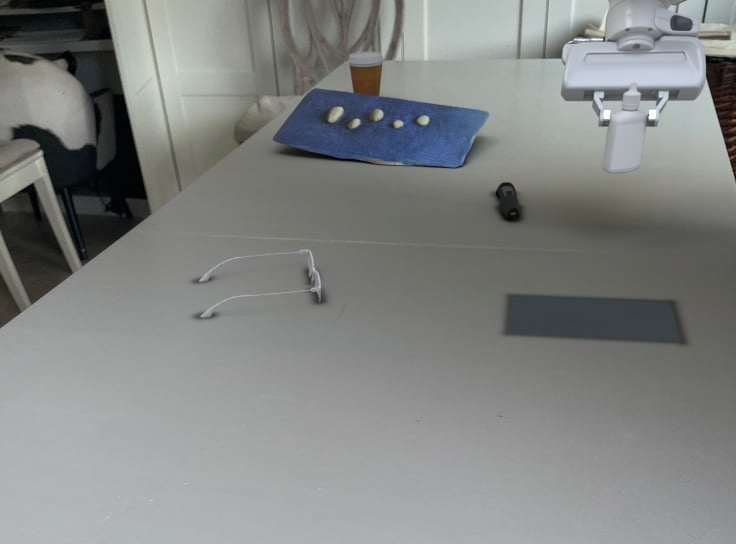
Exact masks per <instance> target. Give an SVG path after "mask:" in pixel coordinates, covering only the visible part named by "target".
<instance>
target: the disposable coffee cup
mask: <svg viewBox="0 0 736 544" xmlns="http://www.w3.org/2000/svg"><path fill="white" fill-rule="evenodd" d="M384 61H385V59H384V56H383V53H382V52H379V51H357V52H353V53H352V52H351V53H350V54H349V55H348V60H347V63H348V65H349V71H350V77H351V78H350V79H351V85H352V91H353V92H352V93H357V94H364V95H373V96H380V94H381V93H380V92H381V81H382V71H383V64H384Z"/></svg>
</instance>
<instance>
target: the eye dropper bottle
mask: <svg viewBox="0 0 736 544" xmlns="http://www.w3.org/2000/svg"><path fill="white" fill-rule="evenodd" d="M640 98H641V93H640V92H638V91H637V83H636V82H632V83H631V86H630V89H629V91H627V92H625V93H624V95H623V101H621V109H620V110H619V111H617V112H615V113H613V114H612V115H610V122H609V124H608V127H607V131H606V137H605V144H604V150H603V157H602V164H601V165H602V166H601V169H602V171H604V172H606V173H608V174H626V173H631V172H634V171H637V170H639V168H640V167H641V163H642V157H643V150H644V145H645V144H644V143H645V139H646V133H647V127H646V124H647V115H648V114H647V113H646V112H644V111H642V110H639V109H640V102H641V101H640Z"/></svg>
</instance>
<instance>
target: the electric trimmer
mask: <svg viewBox="0 0 736 544" xmlns="http://www.w3.org/2000/svg"><path fill="white" fill-rule="evenodd" d="M495 196H496V198H499V199H500V203H499V209H500V211H501V212H502V214H503V215H504V216H505V218H507V219H515V218H516V219H517V218H520V216H521V206H520V203H519V200H518V197H517V192H516V188H515V185H514V184H513V183H512V182H509V181H506V182H505V181H504V182H501V183H500V184H499V185H498V186H497V189H496V190H495Z"/></svg>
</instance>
